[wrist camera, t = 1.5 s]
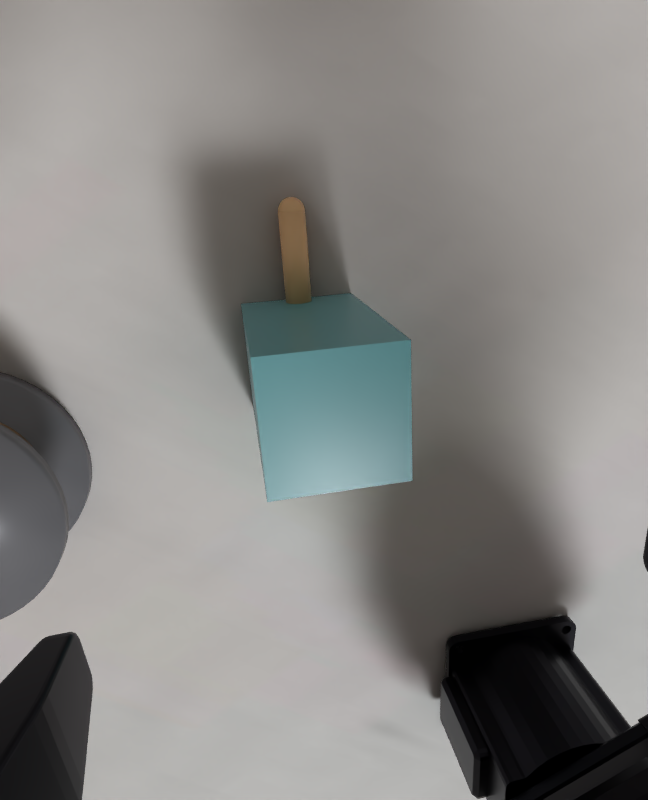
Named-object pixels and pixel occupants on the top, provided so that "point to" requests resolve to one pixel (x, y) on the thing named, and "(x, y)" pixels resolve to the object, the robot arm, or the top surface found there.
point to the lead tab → (325, 383)
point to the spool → (36, 488)
